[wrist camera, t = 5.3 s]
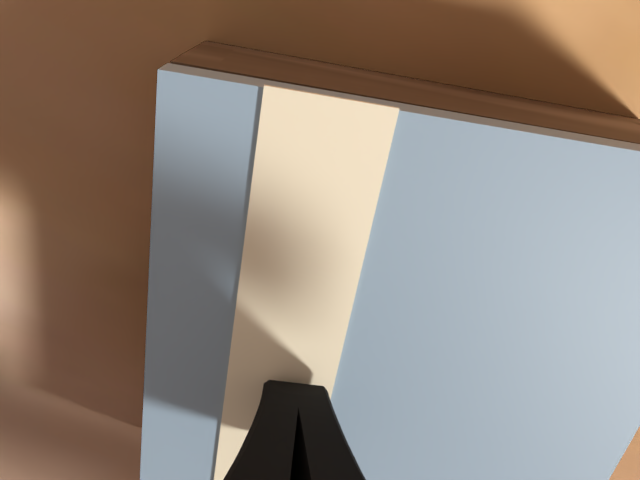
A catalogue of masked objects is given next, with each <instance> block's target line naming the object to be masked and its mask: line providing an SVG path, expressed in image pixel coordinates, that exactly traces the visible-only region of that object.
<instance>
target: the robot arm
mask: <svg viewBox="0 0 640 480" xmlns="http://www.w3.org/2000/svg"><path fill="white" fill-rule="evenodd" d="M223 480H366V479H365V477H364V475H363V473H362V471H361V469H360V467H359V465H358V463H357V461H356V459H355V457H354V455H353V453H352V451H351V449H350V447H349V445H348V442H347V440H346V438H345V436H344V433H343V431H342V429H341V426H340V424H339V422H338V419H337V417H336V414H335V411H334V409H333V406H332V403H331V400H330V397H329V394H328V391H327V390H326V388H325V387H324V386H319V385H310V384H302V383H293V382H285V381H276V380H268V381H267V382H265V383H264V385H263V391H262V396H261V400H260V403H259V406H258V409H257V412H256V415H255V417H254V420H253V422H252V425H251V427H250V429H249V431H248V433H247V436H246V438H245V440H244V442H243V444H242V446H241V448H240V450H239V452H238V454H237V456H236V458H235V460H234V462H233V463H232V465H231V467H230V469H229V471H228V472H227V474H226V476H225V478H224V479H223Z"/></svg>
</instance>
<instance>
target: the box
mask: <svg viewBox="0 0 640 480" xmlns="http://www.w3.org/2000/svg"><path fill="white" fill-rule="evenodd" d="M170 63H171V64H177V65H183V66H189V67H194V68H200V69H206V70H212V71H218V72H223V73H229V74H235V75H241V76H247V77H253V78H258V79H264V80H270V81H276V82H282V83H287V84H293V85H299V86H305V87H311V88H316V89H322V90H328V91H334V92H340V93H346V94H351V95H357V96H363V97H369V98H375V99H380V100H386V101H392V102H398V103H404V104H409V105H415V106H421V107H427V108H433V109H439V110H444V111H450V112H456V113H462V114H468V115H473V116H479V117H485V118H491V119H497V120H503V121H508V122H514V123H520V124H526V125H532V126H537V127H543V128H549V129H555V130H561V131H566V132H572V133H578V134H584V135H590V136H596V137H601V138H607V139H613V140H619V141H625V142H630V143H636V144H640V119H636V118H630V117H625V116H619V115H614V114H608V113H603V112H597V111H592V110H586V109H580V108H575V107H569V106H564V105H558V104H553V103H547V102H542V101H536V100H531V99H525V98H519V97H514V96H508V95H503V94H497V93H492V92H486V91H481V90H475V89H470V88H464V87H458V86H453V85H447V84H442V83H436V82H431V81H425V80H420V79H414V78H409V77H403V76H397V75H392V74H386V73H381V72H375V71H370V70H364V69H359V68H353V67H348V66H342V65H336V64H331V63H325V62H320V61H314V60H309V59H303V58H298V57H292V56H287V55H281V54H275V53H270V52H264V51H259V50H253V49H248V48H242V47H237V46H231V45H226V44H220V43H214V42H209V41H204V42H203V43H201V44H199V45H197V46H196V47H194V48H192V49H190V50H189V51H187V52H185V53H184V54H182V55H180V56H178V57H177V58H175V59H173V60H172V61H170Z"/></svg>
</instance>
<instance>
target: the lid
mask: <svg viewBox="0 0 640 480" xmlns="http://www.w3.org/2000/svg"><path fill="white" fill-rule="evenodd" d="M268 380H276V381H285V382H293V383H302V384H310V385H319V386H324V387H325V388H326V390H327V391H328V394H329V397H330V400H331V403H332V406H333V409H334V411H335V414H336V417H337V419H338V422H339V424H340V426H341V429H342V431H343V433H344V436H345V438H346V440H347V442H348V445H349V447H350V449H351V451H352V453H353V455H354V457H355V459H356V461H357V463H358V465H359V467H360V469H361V471H362V473H363V475H364V477H365V479H366V480H609V478H610V477H611V475H612V473H613V471H614V470H615V468H616V466H617V464H618V463H619V461H620V459H621V457H622V456H623V454H624V452H625V450H626V449H627V447H628V445H629V444H630V442H631V440H632V438H633V437H634V435H635V433H636V431H637V430H638V428H639V426H640V144H636V143H630V142H625V141H619V140H613V139H607V138H601V137H596V136H590V135H584V134H578V133H572V132H566V131H561V130H555V129H549V128H543V127H537V126H532V125H526V124H520V123H514V122H508V121H503V120H497V119H491V118H485V117H479V116H473V115H468V114H462V113H456V112H450V111H444V110H439V109H433V108H427V107H421V106H415V105H409V104H404V103H398V102H392V101H386V100H380V99H375V98H369V97H363V96H357V95H351V94H346V93H340V92H334V91H328V90H322V89H316V88H311V87H305V86H299V85H293V84H287V83H282V82H276V81H270V80H264V79H258V78H253V77H247V76H241V75H235V74H229V73H223V72H218V71H212V70H206V69H200V68H194V67H189V66H183V65H177V64H171V63H167V64H165V65H164V66H162V67H160V68H159V69H158V72H157V95H156V118H155V141H154V165H153V188H152V211H151V234H150V257H149V280H148V303H147V326H146V349H145V372H144V395H143V419H142V442H141V465H140V480H223V479H224V478H225V476H226V474H227V472H228V471H229V469H230V467H231V465H232V463H233V462H234V460H235V458H236V456H237V454H238V452H239V450H240V448H241V446H242V444H243V442H244V440H245V438H246V436H247V433H248V431H249V429H250V427H251V425H252V422H253V420H254V417H255V415H256V412H257V409H258V406H259V403H260V400H261V396H262V391H263V385H264V383H265V382H267V381H268Z"/></svg>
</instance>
